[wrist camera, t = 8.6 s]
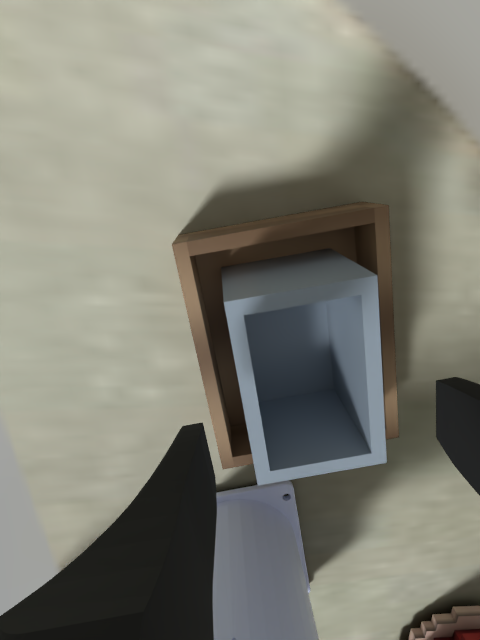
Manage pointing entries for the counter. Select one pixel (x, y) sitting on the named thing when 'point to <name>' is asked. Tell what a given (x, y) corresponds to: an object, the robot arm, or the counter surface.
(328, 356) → the grey crate
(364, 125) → the counter surface
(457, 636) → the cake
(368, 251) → the walnut crate
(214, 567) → the robot arm
